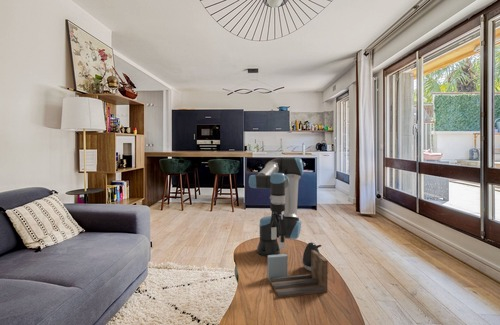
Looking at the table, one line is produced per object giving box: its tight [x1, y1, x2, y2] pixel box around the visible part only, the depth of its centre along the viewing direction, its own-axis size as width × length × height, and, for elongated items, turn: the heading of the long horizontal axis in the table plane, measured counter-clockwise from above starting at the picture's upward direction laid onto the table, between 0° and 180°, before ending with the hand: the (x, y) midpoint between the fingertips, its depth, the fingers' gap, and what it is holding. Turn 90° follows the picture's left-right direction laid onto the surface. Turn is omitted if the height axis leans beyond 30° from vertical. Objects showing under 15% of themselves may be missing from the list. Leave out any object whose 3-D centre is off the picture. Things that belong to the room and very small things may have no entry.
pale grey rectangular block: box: [266, 253, 288, 281], centre depth 139 cm, size 3×10×12 cm, turn 101°
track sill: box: [269, 250, 329, 298], centre depth 129 cm, size 14×24×15 cm, turn 101°
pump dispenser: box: [301, 242, 322, 272], centre depth 149 cm, size 10×10×15 cm
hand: (277, 243), depth 138 cm, fingers open, 13 cm apart
